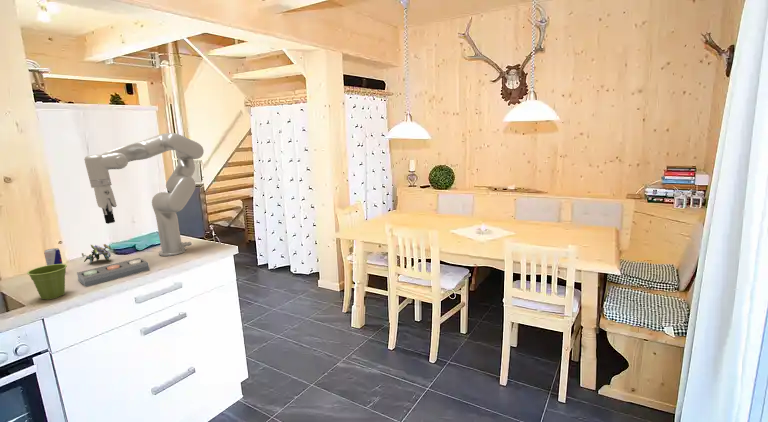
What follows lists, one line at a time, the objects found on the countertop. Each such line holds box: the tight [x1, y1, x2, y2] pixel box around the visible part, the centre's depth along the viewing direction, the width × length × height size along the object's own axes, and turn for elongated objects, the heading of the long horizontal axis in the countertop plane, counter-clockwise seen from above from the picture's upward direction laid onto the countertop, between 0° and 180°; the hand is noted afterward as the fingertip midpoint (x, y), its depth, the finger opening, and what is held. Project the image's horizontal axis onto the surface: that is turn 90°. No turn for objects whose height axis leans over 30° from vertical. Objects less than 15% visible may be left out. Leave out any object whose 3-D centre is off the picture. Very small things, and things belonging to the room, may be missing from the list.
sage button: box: [84, 270, 97, 276], centre depth 168 cm, size 5×5×2 cm
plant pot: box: [26, 263, 68, 300], centre depth 153 cm, size 12×12×11 cm
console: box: [76, 257, 150, 288], centre depth 175 cm, size 24×12×4 cm, turn 138°
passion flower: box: [81, 243, 112, 265], centre depth 193 cm, size 11×11×12 cm
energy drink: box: [44, 247, 64, 266], centre depth 177 cm, size 5×5×12 cm
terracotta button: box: [107, 265, 120, 270], centre depth 175 cm, size 5×5×2 cm
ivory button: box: [129, 260, 141, 265], centre depth 181 cm, size 5×5×2 cm
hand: (110, 222), depth 180 cm, fingers closed
